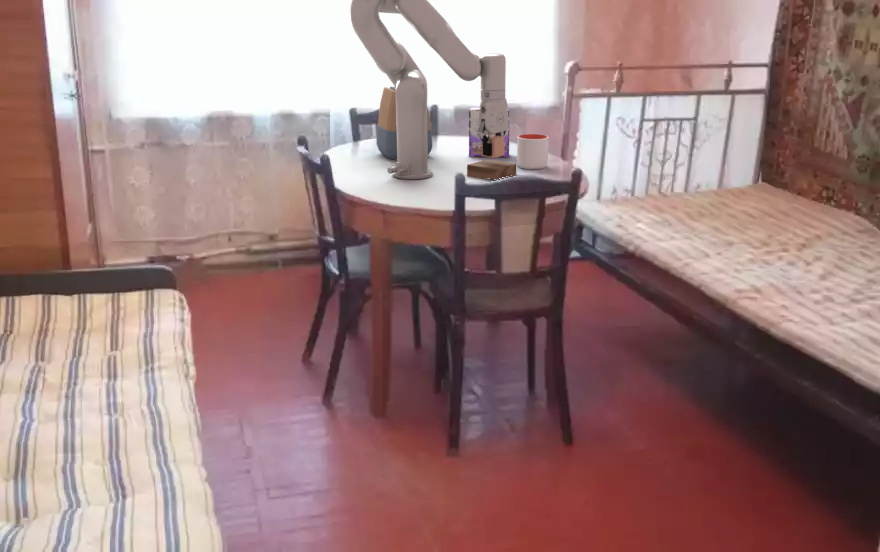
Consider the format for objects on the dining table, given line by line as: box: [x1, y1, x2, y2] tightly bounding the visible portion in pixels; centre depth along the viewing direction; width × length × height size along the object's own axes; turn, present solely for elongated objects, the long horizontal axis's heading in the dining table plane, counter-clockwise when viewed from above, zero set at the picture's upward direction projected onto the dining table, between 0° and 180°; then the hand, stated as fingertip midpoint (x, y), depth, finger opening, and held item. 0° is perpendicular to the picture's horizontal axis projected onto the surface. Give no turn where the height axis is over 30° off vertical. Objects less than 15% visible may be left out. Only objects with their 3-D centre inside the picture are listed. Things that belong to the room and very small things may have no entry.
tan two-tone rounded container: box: [376, 86, 433, 161], centre depth 323 cm, size 17×17×23 cm
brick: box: [482, 135, 504, 159], centre depth 294 cm, size 5×5×6 cm
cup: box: [516, 133, 550, 171], centre depth 307 cm, size 10×10×10 cm
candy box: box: [468, 106, 511, 158], centre depth 323 cm, size 14×6×16 cm, turn 84°
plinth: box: [466, 158, 517, 180], centre depth 296 cm, size 11×11×4 cm
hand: (492, 153), depth 295 cm, fingers closed on brick, 5 cm apart
